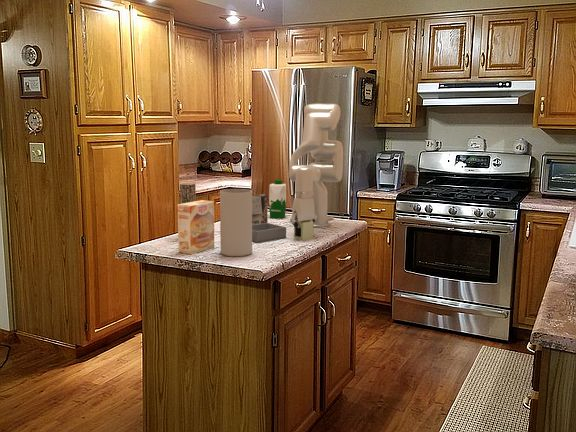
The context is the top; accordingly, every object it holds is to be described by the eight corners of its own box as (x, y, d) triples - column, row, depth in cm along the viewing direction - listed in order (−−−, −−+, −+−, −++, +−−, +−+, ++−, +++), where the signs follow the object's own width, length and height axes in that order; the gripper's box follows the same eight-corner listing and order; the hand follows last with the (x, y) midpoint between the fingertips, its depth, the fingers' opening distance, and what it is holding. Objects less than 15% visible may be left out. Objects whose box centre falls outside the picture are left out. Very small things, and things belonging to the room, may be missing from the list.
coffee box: (263, 229, 275) (263, 196, 272) (250, 229, 276) (250, 196, 273) (268, 226, 284) (268, 194, 281) (255, 225, 285) (255, 193, 282)
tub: (267, 233, 266) (267, 222, 265) (286, 237, 256) (286, 227, 255) (238, 237, 255) (238, 226, 255) (257, 243, 246) (257, 231, 245)
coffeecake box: (191, 254, 224) (190, 205, 221) (177, 252, 228) (176, 204, 225) (215, 247, 237) (214, 201, 233) (202, 245, 241) (201, 199, 237)
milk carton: (286, 216, 311) (287, 179, 308) (284, 219, 303) (284, 181, 299) (271, 215, 313) (271, 179, 309) (267, 218, 304) (267, 181, 301)
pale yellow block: (303, 237, 259) (304, 219, 257) (313, 239, 254) (313, 221, 253) (294, 238, 255) (294, 221, 254) (303, 241, 250) (303, 223, 249)
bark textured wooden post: (199, 237, 255) (198, 182, 251) (190, 240, 249) (189, 183, 245) (186, 236, 258) (185, 181, 254) (177, 239, 252) (176, 182, 248)
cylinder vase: (216, 251, 230) (215, 189, 226) (245, 248, 235) (245, 188, 231) (226, 258, 219) (225, 193, 215) (256, 255, 224) (256, 192, 220)
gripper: (312, 192, 260) (311, 231, 263) (283, 196, 248) (283, 236, 251) (324, 194, 254) (323, 234, 257) (295, 197, 243) (294, 239, 246)
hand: (303, 234), depth 254 cm, fingers closed on pale yellow block, 6 cm apart
